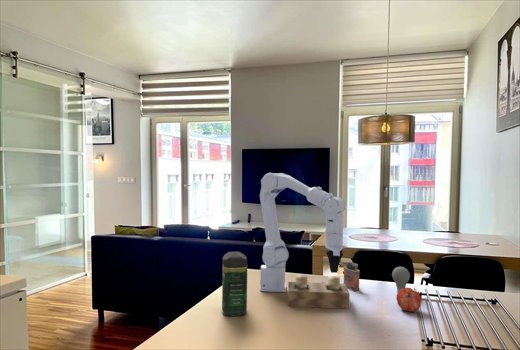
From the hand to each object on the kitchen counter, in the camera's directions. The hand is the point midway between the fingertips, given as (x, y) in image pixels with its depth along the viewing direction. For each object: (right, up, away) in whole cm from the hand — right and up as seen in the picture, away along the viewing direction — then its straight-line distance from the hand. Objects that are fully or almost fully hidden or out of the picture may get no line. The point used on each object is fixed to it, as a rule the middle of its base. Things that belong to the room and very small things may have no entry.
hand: (333, 272), depth 121 cm
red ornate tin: (+10, -11, +15) cm, 21 cm away
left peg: (-11, -7, +1) cm, 13 cm away
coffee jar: (-33, -11, -8) cm, 36 cm away
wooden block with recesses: (-5, -10, +1) cm, 12 cm away
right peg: (0, -7, 0) cm, 7 cm away
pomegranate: (+23, -11, -6) cm, 26 cm away
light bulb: (+26, -11, +9) cm, 30 cm away
